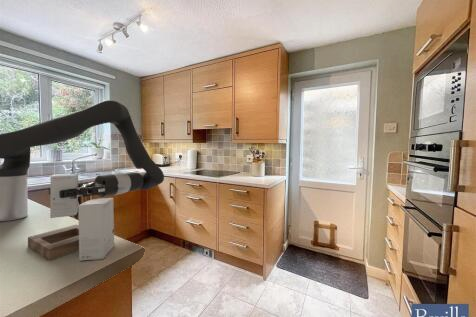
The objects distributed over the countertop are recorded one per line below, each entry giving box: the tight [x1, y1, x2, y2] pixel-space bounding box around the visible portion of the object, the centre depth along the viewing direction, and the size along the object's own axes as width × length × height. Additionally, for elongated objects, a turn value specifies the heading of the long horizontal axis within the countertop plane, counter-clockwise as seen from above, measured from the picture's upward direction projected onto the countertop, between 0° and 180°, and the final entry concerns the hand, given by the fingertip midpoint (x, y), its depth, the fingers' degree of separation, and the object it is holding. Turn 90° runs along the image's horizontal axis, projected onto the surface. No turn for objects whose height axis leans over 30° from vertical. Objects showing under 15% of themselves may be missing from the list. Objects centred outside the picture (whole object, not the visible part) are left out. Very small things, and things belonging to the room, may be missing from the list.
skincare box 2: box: [78, 197, 115, 262], centre depth 57 cm, size 8×6×15 cm
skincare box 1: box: [49, 173, 79, 219], centre depth 61 cm, size 6×4×12 cm
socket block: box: [27, 224, 79, 261], centre depth 62 cm, size 14×12×3 cm
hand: (54, 192), depth 59 cm, fingers closed on skincare box 1, 6 cm apart
